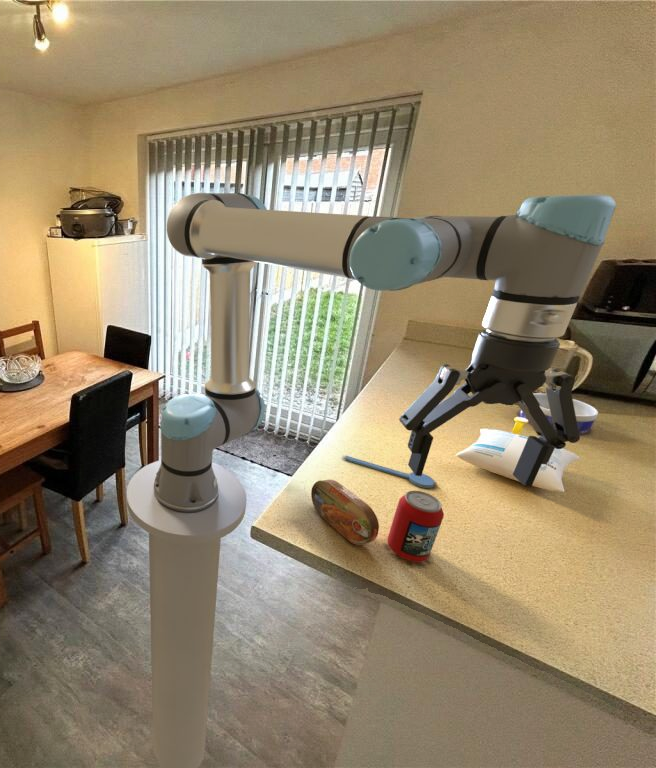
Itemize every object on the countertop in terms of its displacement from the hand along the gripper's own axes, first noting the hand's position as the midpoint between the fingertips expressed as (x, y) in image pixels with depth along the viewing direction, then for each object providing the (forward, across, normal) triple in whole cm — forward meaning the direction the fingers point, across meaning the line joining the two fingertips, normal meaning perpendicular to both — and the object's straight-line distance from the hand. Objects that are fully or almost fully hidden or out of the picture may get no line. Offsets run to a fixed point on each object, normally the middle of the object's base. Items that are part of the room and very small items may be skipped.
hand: (466, 475), depth 57 cm
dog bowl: (+24, +62, +71) cm, 98 cm away
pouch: (+24, +36, +42) cm, 60 cm away
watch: (+24, +46, +59) cm, 78 cm away
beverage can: (+24, +1, +9) cm, 26 cm away
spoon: (+24, +6, +35) cm, 43 cm away
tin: (+24, -10, +14) cm, 29 cm away
